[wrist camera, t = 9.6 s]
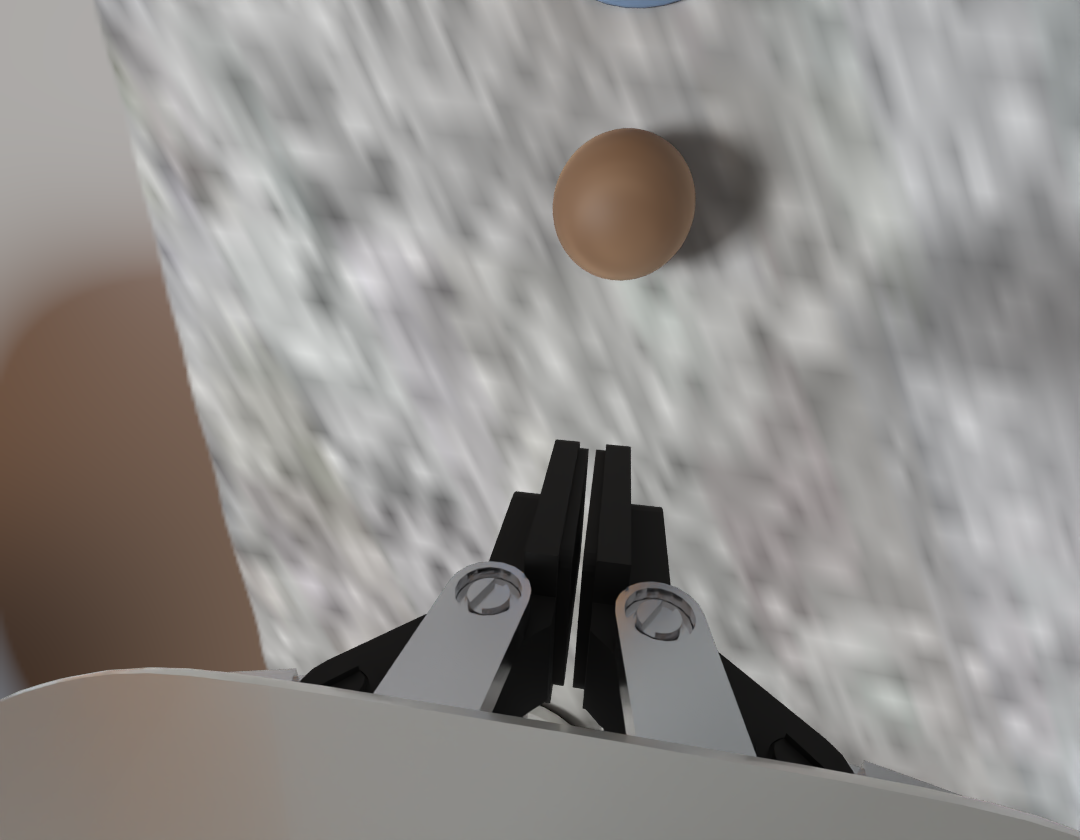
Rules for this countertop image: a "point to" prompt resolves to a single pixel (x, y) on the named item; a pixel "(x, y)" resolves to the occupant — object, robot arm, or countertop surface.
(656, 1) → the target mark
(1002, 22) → the countertop surface
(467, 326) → the countertop surface
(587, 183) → the brown egg
